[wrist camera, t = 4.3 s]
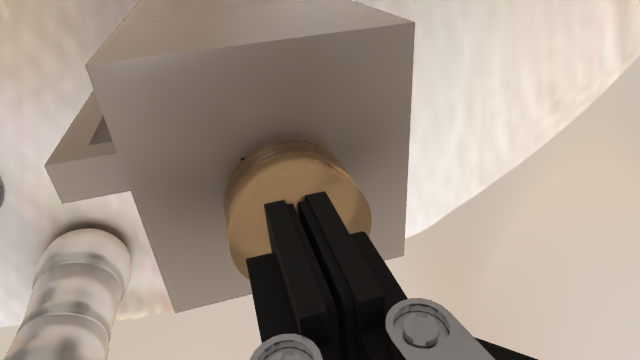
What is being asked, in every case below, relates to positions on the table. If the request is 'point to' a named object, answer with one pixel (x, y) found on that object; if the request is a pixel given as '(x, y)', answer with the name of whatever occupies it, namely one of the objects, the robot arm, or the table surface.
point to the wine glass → (1, 192)
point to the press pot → (238, 119)
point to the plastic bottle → (74, 298)
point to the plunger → (286, 193)
